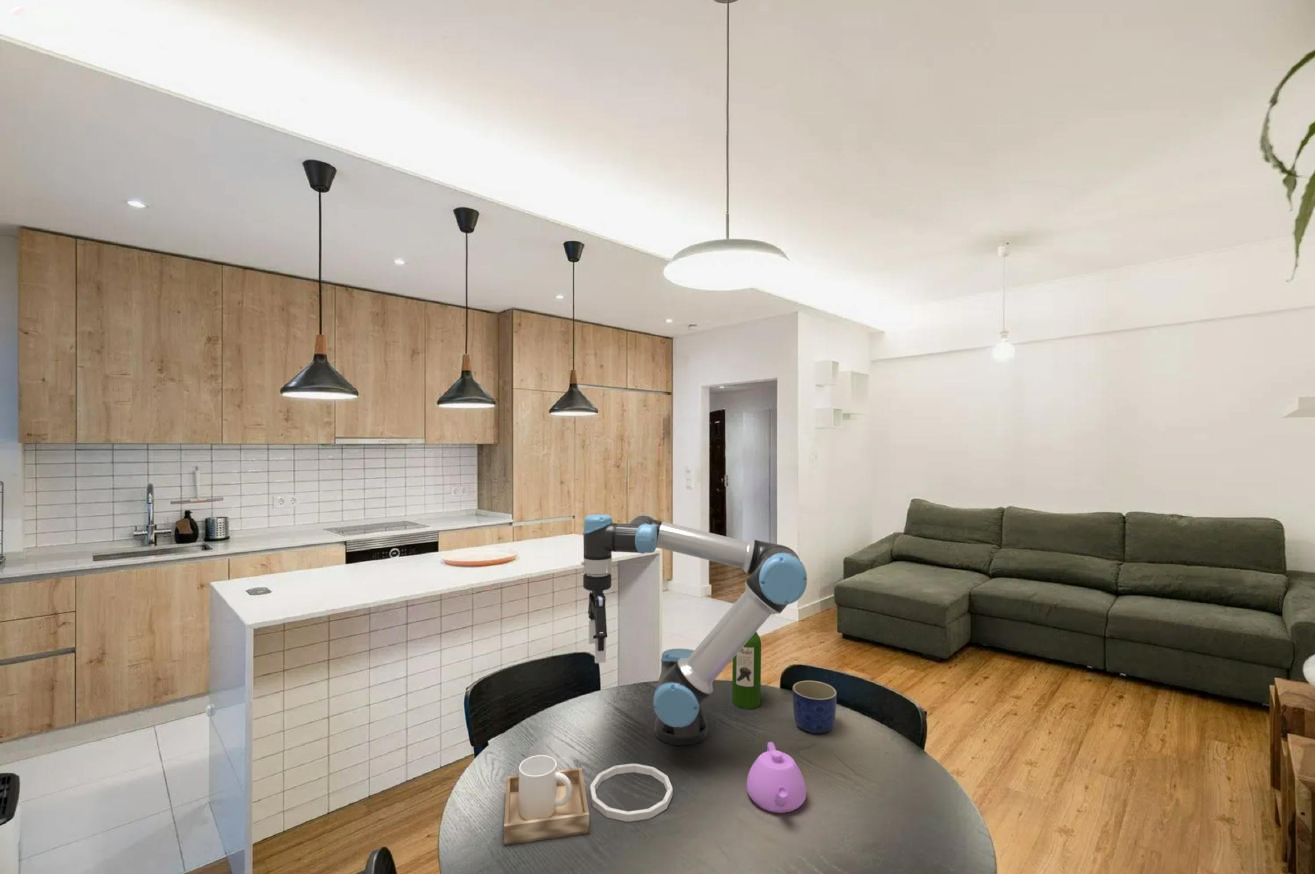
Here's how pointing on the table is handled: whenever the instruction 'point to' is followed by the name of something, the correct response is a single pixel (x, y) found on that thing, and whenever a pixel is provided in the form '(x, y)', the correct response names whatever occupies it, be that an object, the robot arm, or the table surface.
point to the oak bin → (559, 824)
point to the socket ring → (638, 813)
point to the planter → (814, 706)
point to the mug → (540, 787)
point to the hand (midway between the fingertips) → (596, 652)
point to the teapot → (776, 782)
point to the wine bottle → (747, 675)
